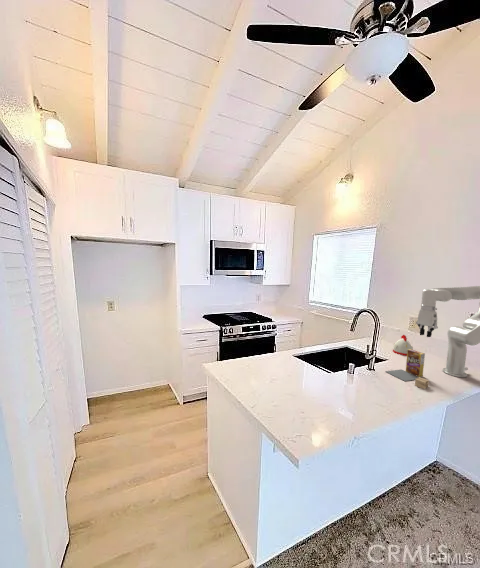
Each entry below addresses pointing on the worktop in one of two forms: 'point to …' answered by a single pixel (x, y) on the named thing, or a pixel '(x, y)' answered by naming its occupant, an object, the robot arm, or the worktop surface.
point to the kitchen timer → (402, 346)
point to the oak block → (421, 382)
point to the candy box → (415, 362)
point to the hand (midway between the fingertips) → (425, 335)
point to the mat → (402, 375)
